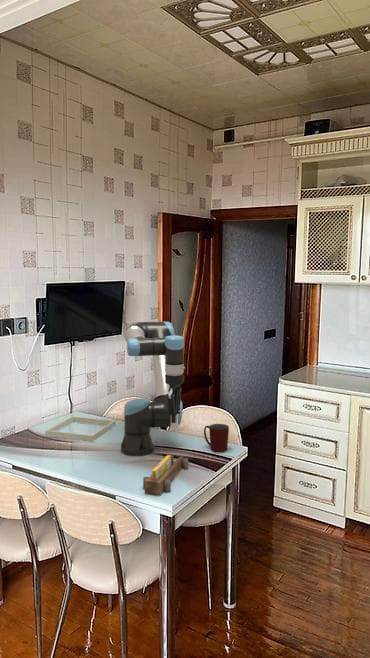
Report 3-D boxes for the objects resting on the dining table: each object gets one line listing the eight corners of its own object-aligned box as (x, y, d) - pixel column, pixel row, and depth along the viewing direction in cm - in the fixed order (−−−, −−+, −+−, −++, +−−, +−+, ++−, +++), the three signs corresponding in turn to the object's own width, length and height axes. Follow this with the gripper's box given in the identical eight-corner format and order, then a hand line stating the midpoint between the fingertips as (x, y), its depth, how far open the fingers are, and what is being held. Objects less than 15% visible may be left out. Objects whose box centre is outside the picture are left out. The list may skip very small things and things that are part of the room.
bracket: (138, 492, 183) (138, 479, 183) (164, 464, 210) (164, 453, 210) (166, 496, 180) (166, 483, 180) (188, 467, 207) (188, 456, 207)
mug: (199, 450, 228) (199, 426, 227) (208, 444, 235) (208, 421, 234) (223, 454, 222) (223, 430, 221) (231, 448, 230) (232, 425, 228)
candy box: (166, 474, 201) (166, 454, 200) (171, 475, 200) (171, 455, 199) (151, 491, 185) (151, 469, 184) (157, 491, 185) (157, 470, 184)
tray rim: (45, 436, 246) (45, 430, 246) (72, 421, 271) (72, 416, 270) (92, 441, 239) (92, 435, 238) (115, 426, 263) (115, 420, 263)
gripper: (178, 378, 195) (178, 435, 198) (188, 371, 207) (187, 425, 210) (160, 376, 197) (160, 433, 200) (171, 369, 209) (170, 423, 212)
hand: (174, 429), depth 205 cm, fingers closed
